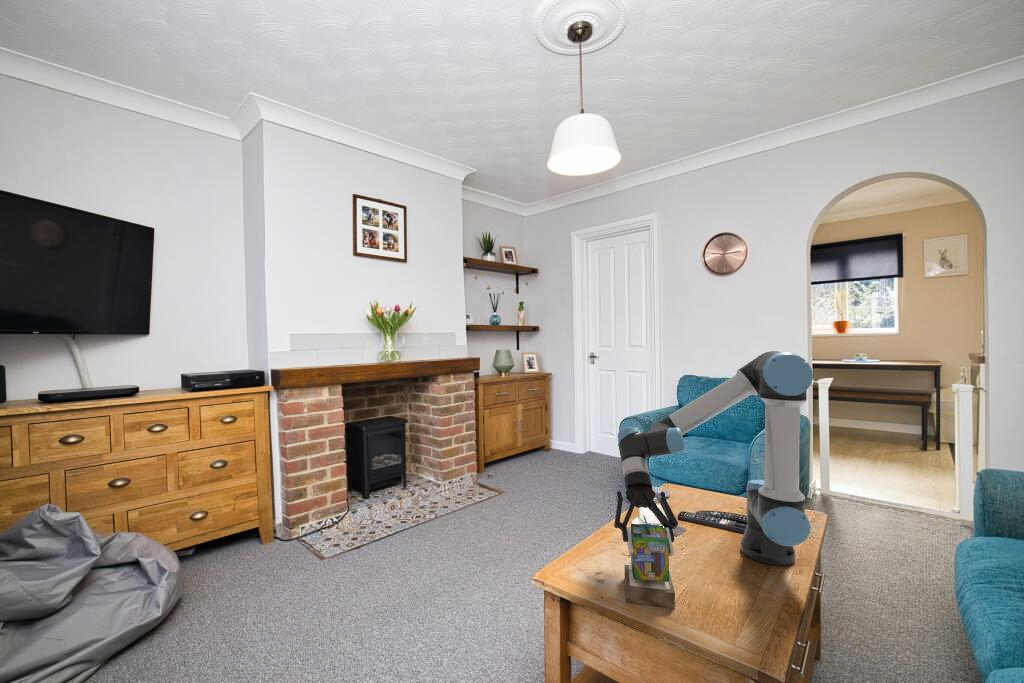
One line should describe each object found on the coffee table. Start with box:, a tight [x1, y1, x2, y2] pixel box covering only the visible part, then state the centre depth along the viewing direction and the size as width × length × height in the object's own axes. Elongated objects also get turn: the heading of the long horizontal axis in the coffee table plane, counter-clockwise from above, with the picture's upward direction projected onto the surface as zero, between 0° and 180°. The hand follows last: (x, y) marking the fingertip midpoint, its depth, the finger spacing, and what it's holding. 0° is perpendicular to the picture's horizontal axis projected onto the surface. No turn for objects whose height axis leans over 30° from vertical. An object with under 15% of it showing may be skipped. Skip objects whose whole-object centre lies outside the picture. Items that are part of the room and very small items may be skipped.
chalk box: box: [630, 515, 670, 582], centre depth 121 cm, size 9×9×15 cm
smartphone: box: [664, 525, 687, 537], centre depth 164 cm, size 7×1×15 cm
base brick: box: [624, 564, 676, 609], centre depth 121 cm, size 12×12×4 cm
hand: (651, 554), depth 118 cm, fingers closed on chalk box, 10 cm apart
